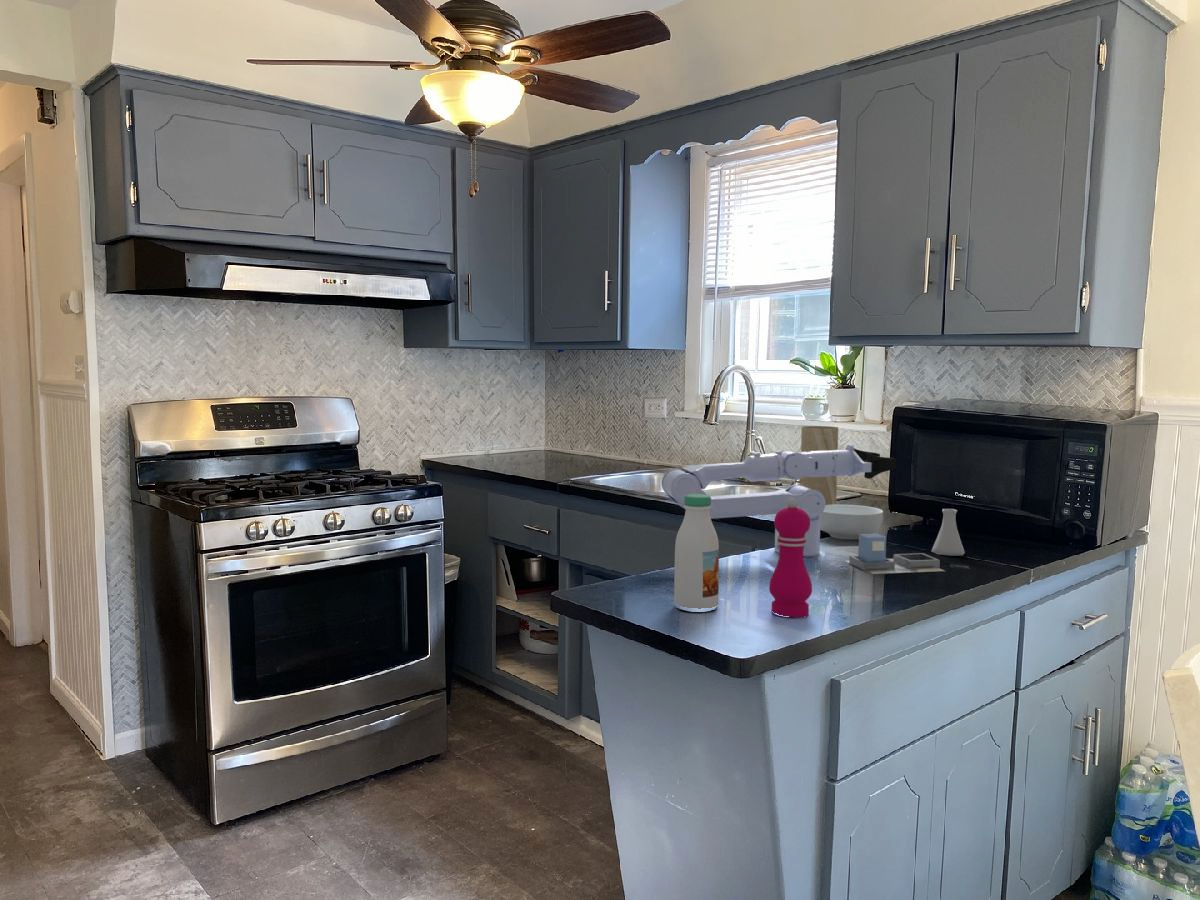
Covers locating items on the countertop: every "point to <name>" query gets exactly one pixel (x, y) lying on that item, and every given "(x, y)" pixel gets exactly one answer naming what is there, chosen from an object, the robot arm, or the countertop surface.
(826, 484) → the tapered wooden vase
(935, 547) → the flask
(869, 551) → the plug
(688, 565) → the milk bottle
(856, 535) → the cereal bowl
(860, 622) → the countertop surface
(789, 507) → the pepper mill
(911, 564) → the panel
